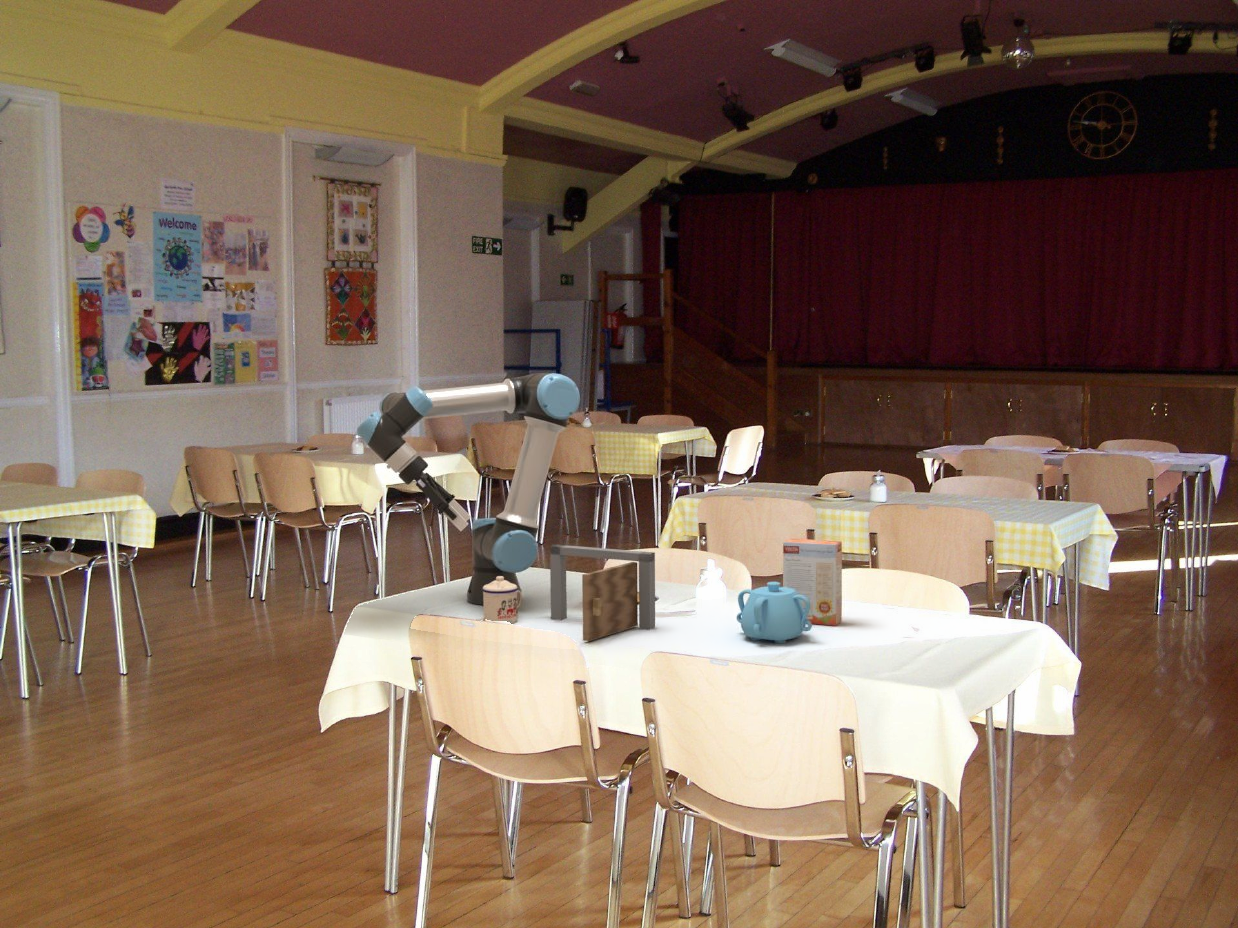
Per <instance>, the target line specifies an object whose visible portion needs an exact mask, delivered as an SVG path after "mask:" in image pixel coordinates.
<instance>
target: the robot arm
mask: <svg viewBox="0 0 1238 928" xmlns="http://www.w3.org/2000/svg"><path fill="white" fill-rule="evenodd" d="M580 402H581V396H580V390H579V388H578V386H577V383H576V382H575V381H574V380H572V379H571V378H570V377H568V376H566V375H564V374H561V373H555V372H554V373H551V372H550V373H547V372H536V373H531V374H527V375H523V376H518V377H511V378H505V379H504V380H503V382H498V383H487V384H478V385H468V386H457V387H447V388H436V389H426V390H422V389H421V388H419V386H411V388H410V389H408V390H406V391H405V392H389V393H387V394H385V395H384V396H382V398H381V400H380V402H379V406H378V407H379V411H380V413H379V412H378V411H373V412H372V413H370V415H369V416H368V417H367V418H366V419H365V420H363V422H362V423H360V424H359V425H358V426H357V429H356V433H357V435H358V436H359V437H360V438H361V440H362V441H363V442H364V443H365V445H367V446H368V447H369V448H370V449H371V450H372V451H373V452H374V454H376V455H377V456H378V457H379V458H380V459H381V460H382V461H383V462H384V463H386V469H389V470H390V469H391V470H392V471H393V472H394V473H396V474H397V473H399V474H398V478H400V479H401V481H402V482H403V483H404V484H406V485H410V484H411V483H413V482H414V481H415V486H416V487H417V488H418V489H419V490H420V491H421V492H422V493H423V494H424V495H425V497H426V498H427V499H428V500H429V501H430V502H431V503H432V505H433V506H434V507H435V508H436V509H437V513H438V514H439V515H442V514H443V515H444V516H445V518H447V519H448V521H450V522H451V523H452V525H453V526H454V527H455V528H457V529H458V530H459V531H460V532H462V531H464V529H465V528H466V527H468V525H469V522H467V521H468V520H469V519H470V518H472V516H471V515H470V514H469V513H468V512H467V511H466V510H465V509H464V508H463V506H461V505H460V503H458V502H457V501H456V500H455V498H456V496H455V494H453V493H452V494H451V493H449V492H448V491H447V490H446V489H445V488H444V487H443V486H442V485H441V484H440V483H439V482H437V481H436V480H435V479H434V477H433V476H432V475H430V474H429V473H428V472H424V471H425V470H426V469H427V468H428V466H429V464H428V463H427V461H426V460H425V459H424V458H422V456H421V455H417V454H418V452H417V451H416V450H415V449H414V448H413V447H412V446H411V445H410V444H409V443H408V441H406V440H405V439H404V438H403V437H405V435H406V434H407V433H408V432H409V431H410V430H411V429H412V428H414V427H415V425H417V424H418V423H419V422H420V421H421V420H426V419H434V418H443V417H445V418H446V417H455V416H464V415H465V416H466V415H474V414H475V415H476V414H482V413H484V414H485V413H492V412H493V413H494V412H505V411H506V412H507V414H508V413H509V414H519V413H520V414H524V415H523V418H524V420H525V422H526V424H527V427H526V430H525V434H524V438H523V441H522V444H521V449H520V451H519V455H518V458H517V459H518V460H517V463H516V467H515V470H514V474H513V477H512V481H511V484H510V488H509V492H508V495H507V498H506V501H505V502H506V503H505V506H504V509H503V511H502V512H500V513H498V514H497V515H496V517H487V518H485V517H484V518H477V519H474V520H473V522H472V524H471V525H472V527H471V531H470V532H471V540H472V541H471V542H472V544H471V545H472V546H471V547H472V549H471V550H472V551H471V552H472V575H471V579H470V582H469V584H468V588H467V592H466V601H467V602H469V603H470V604H472V605H473V604H474V605H482V606H484V602H483V590H482V589H483V586H485V585H487V584H490V583H491V582H492V581H495V580H496V577H497V576H503V577H504V580H506V581H508V582H510V583H512V584H515V585H517V588H518V590H519V591H520V592H521V594H522V592H523V591H522V588H521V586H520V582H519V579H518V577H517V574H516V573H521V572H524V571H526V570H527V569H529V568H530V567H532V565H533V564H534V563H535V562H536V559H537V557H538V553H539V546H538V542H537V540H536V537H537V535H538V530H539V525H538V524H537V522H536V517H537V514H538V510H539V507H540V506H539V505H540V502H541V498H542V495H543V492H544V487H545V483H546V481H547V476H548V473H549V469H550V466H551V463H552V459H553V456H554V455H553V454H554V452H555V448H556V445H557V441H558V438H559V434H560V433H561V432H563V431H565V430H566V429H567V427H568V423H569V420H570V419H569V418H570V417H571V416H573V415H574V414H575V413H576V411H577V410H578V409H579V406H580ZM522 595H523V594H522ZM517 599H518V595H517Z"/></svg>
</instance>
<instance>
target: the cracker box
mask: <svg viewBox="0 0 1238 928" xmlns="http://www.w3.org/2000/svg"><path fill="white" fill-rule="evenodd" d="M782 544H783V546H782V548H783V549H782V551H783V552H782V554H783V555H782V557H783V558H782V587H788V588H792V589H795V590H796V591H797V593H798V595H803V596H805V597H807V598H808V599H809V601H810V611H809V614H808V617H807V619H806V620H809V621H810V622H811V623H812V625H822V626H830V627H831V626H832V627H835V626H837V625H839V624H840V623H841V622H842V618H843V617H842V615H843V612H842V609H843V607H842V606H843V604H842V603H843V602H842V601H843V595H842V594H843V591H842V589H843V585H842V584H843V582H842V579H843V576H842V575H843V573H842V572H843V542H842V541H841V540H840V541H839V540H838V541H837V540H823V539H820V540H819V539H808V538H807V539H806V538H789V539H787V540H784V541H783V542H782ZM800 600H801V599H800ZM801 602H802V604H803V607H804V611H805V607H806V605H805V602H804V601H803V600H801Z"/></svg>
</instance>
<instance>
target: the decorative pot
mask: <svg viewBox="0 0 1238 928" xmlns="http://www.w3.org/2000/svg"><path fill="white" fill-rule="evenodd" d="M766 585H767V586H761V587H757V588H754V589H749V588H748V589H747V588H746V589H744V590H742V591H740V592H739V594H738V596H737V602H738V607H739V611H740V612H738V613H737V615H736V621H737V622H738V623H740V628H741V630H742V631H743V633H744V634H745V636H746V637H749V638H750V640H751V641H761V640H768V641H774V643H775V644H786V643H787V642H786V641H787V640H791V639H794V638H797V637H799V636H801V634H802V633H803V632H809V631H811V630H812V628H813V624H812V623H811V622H810V621H809V620H806V619H807V617H808V614H809V611H810V601H809V599H808V598H807V597H805V596H803V595H798V593H797V591H796V590H795V589H792V588H788V587H783V586H781V582H778V581H768V582H767V583H766ZM746 594H749V595H748V598H747V599H746V602H745V601H744V596H745V595H746ZM800 599H801V600H803V601H804V602H805V605H806V607H805V611H804V607H803V604H802V602H801V600H800Z"/></svg>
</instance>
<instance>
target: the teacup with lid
mask: <svg viewBox="0 0 1238 928" xmlns="http://www.w3.org/2000/svg"><path fill="white" fill-rule="evenodd" d="M482 590H483V602H484V605H483V620H484V619H487V620H491V621H507V622H510V623H511V624H514V623H517V621H518V608H519V607H520V606H521V603H522V600H523V596H522V595H523V594H521V592H520V591H519V590H518V588H517V585H515V584H512V583H510V582H508V581H506V580H504V577H503V576H497V577H496V580H495V581H492V582H491V583H490V584H487V585H485V586H483V589H482ZM517 595H518V599H517Z"/></svg>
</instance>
